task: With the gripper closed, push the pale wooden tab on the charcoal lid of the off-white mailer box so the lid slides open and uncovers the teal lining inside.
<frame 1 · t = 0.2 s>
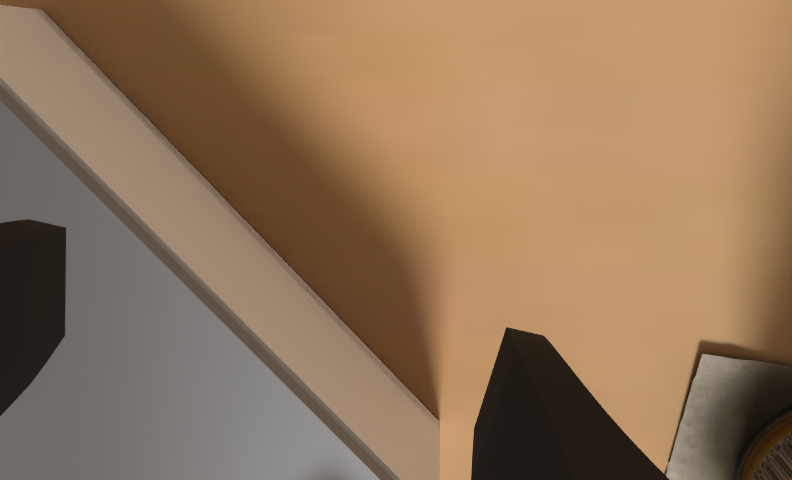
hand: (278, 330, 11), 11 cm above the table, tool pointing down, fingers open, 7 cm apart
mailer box: (111, 359, 23), on the table
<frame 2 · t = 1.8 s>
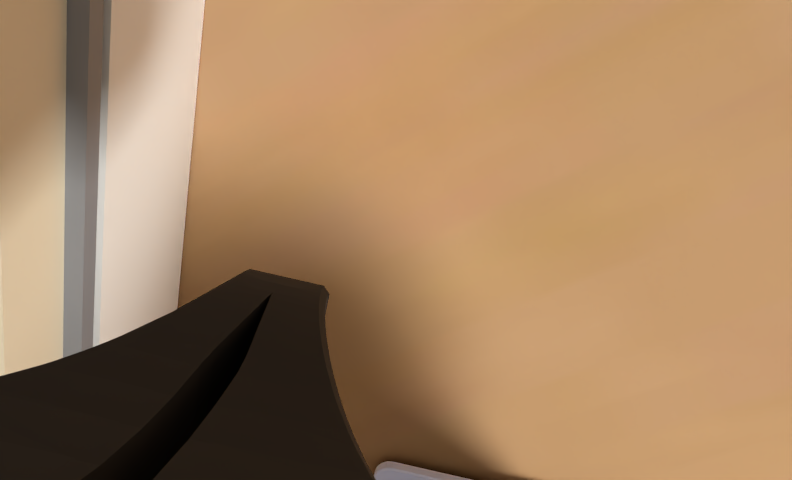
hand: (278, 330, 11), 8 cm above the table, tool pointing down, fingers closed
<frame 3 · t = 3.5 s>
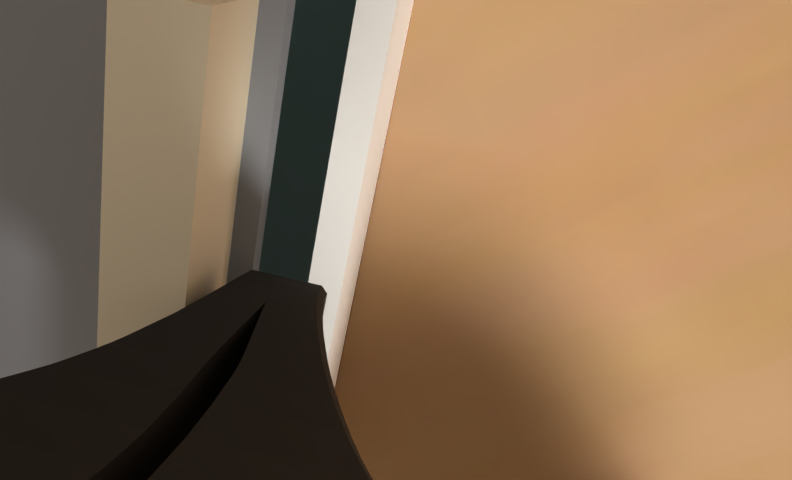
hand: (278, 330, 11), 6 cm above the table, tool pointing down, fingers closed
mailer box: (14, 126, 17), on the table
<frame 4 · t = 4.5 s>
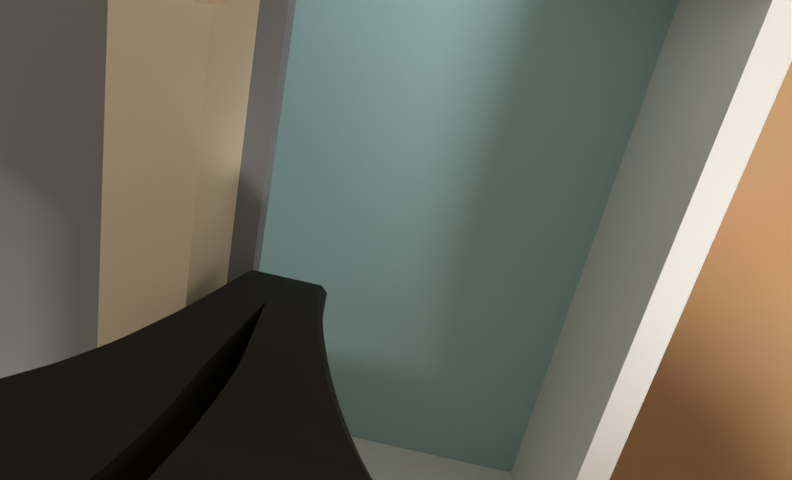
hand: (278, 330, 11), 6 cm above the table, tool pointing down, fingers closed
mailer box: (245, 178, 17), on the table
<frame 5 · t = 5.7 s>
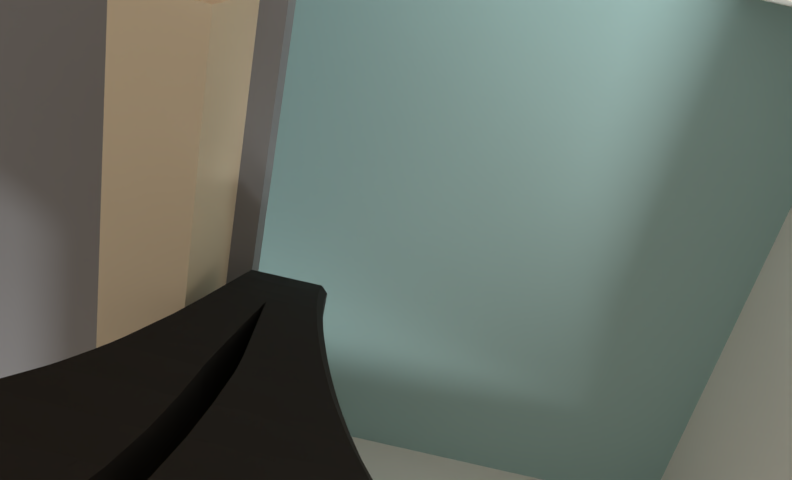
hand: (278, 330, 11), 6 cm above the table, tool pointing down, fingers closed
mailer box: (399, 212, 17), on the table
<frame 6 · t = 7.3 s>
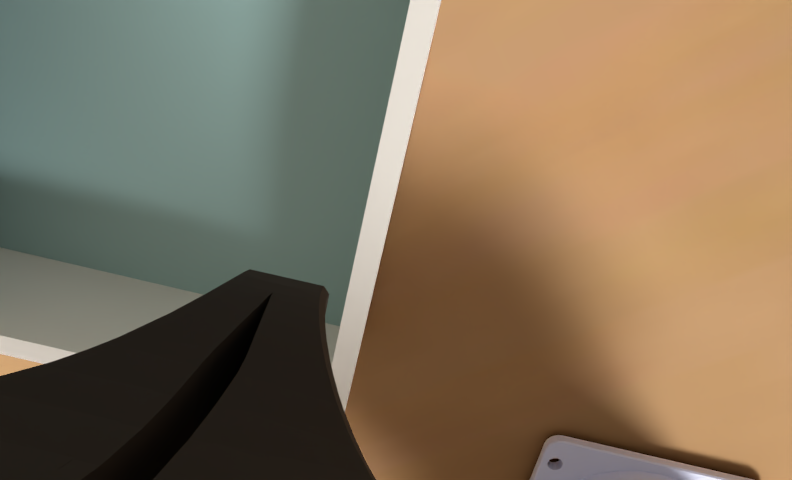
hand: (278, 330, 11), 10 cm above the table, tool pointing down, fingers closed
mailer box: (109, 65, 20), on the table
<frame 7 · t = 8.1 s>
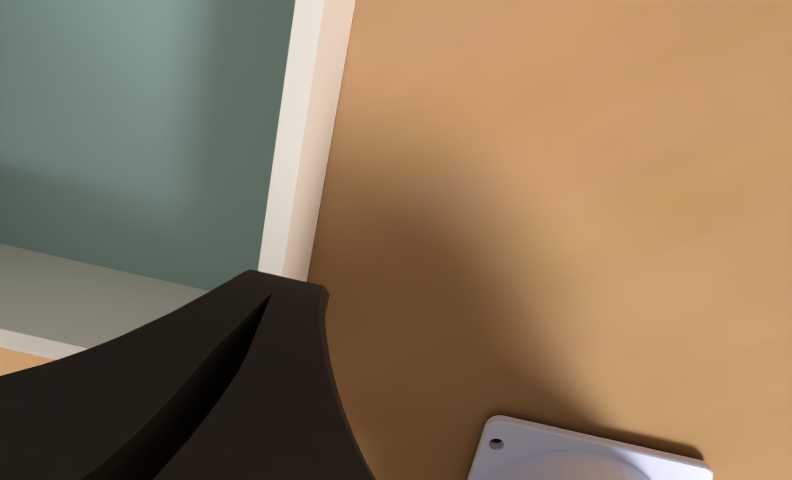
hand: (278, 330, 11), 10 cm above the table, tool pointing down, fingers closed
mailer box: (37, 45, 20), on the table
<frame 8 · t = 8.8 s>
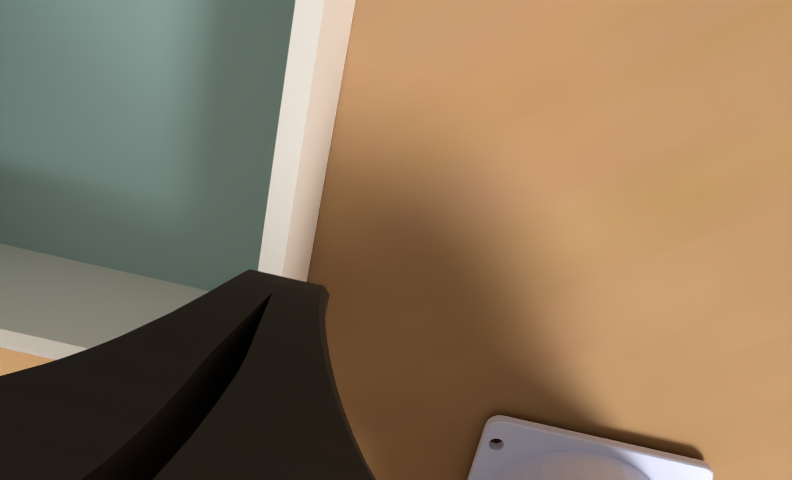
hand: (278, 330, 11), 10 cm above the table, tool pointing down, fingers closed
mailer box: (37, 45, 20), on the table
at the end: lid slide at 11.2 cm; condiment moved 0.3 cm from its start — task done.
